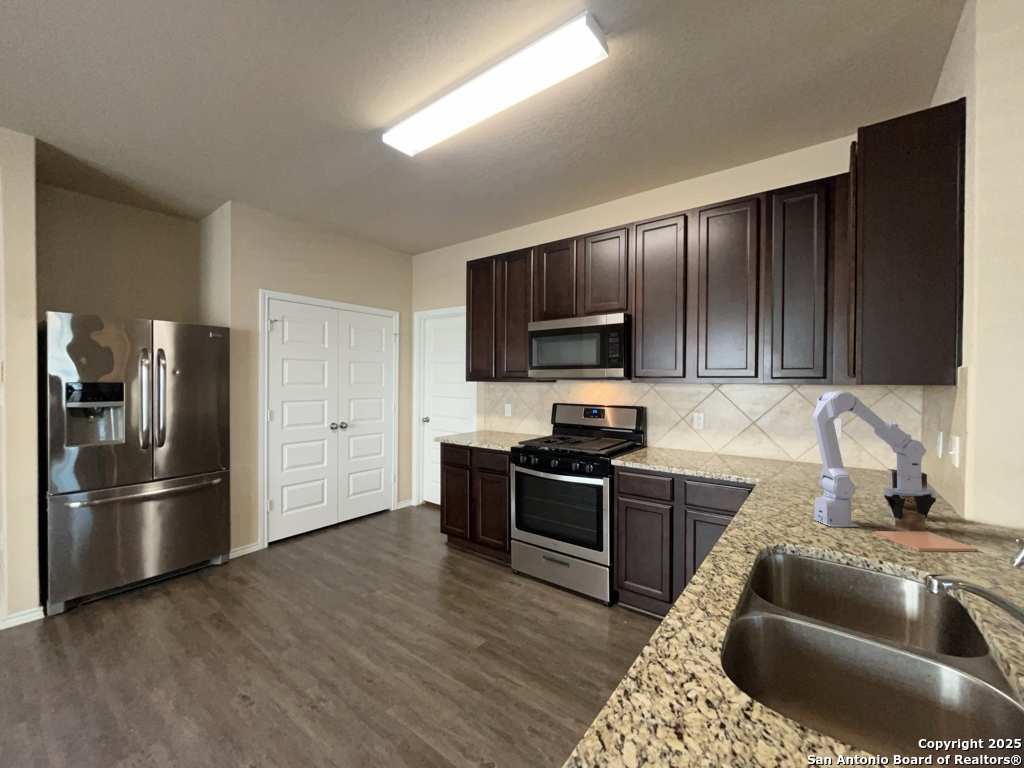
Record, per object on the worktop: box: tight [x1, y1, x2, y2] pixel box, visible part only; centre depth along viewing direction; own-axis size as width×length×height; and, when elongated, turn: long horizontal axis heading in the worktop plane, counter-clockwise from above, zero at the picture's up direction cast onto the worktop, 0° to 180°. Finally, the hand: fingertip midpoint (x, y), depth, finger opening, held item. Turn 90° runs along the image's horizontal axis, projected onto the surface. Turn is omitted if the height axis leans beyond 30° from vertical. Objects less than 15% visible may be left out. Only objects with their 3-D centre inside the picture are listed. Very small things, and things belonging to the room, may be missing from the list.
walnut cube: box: [894, 511, 926, 532], centre depth 134 cm, size 5×5×5 cm
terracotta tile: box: [874, 530, 979, 553], centre depth 121 cm, size 16×14×1 cm
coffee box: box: [886, 468, 928, 522], centre depth 146 cm, size 9×6×16 cm
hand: (910, 518), depth 134 cm, fingers open, 7 cm apart
